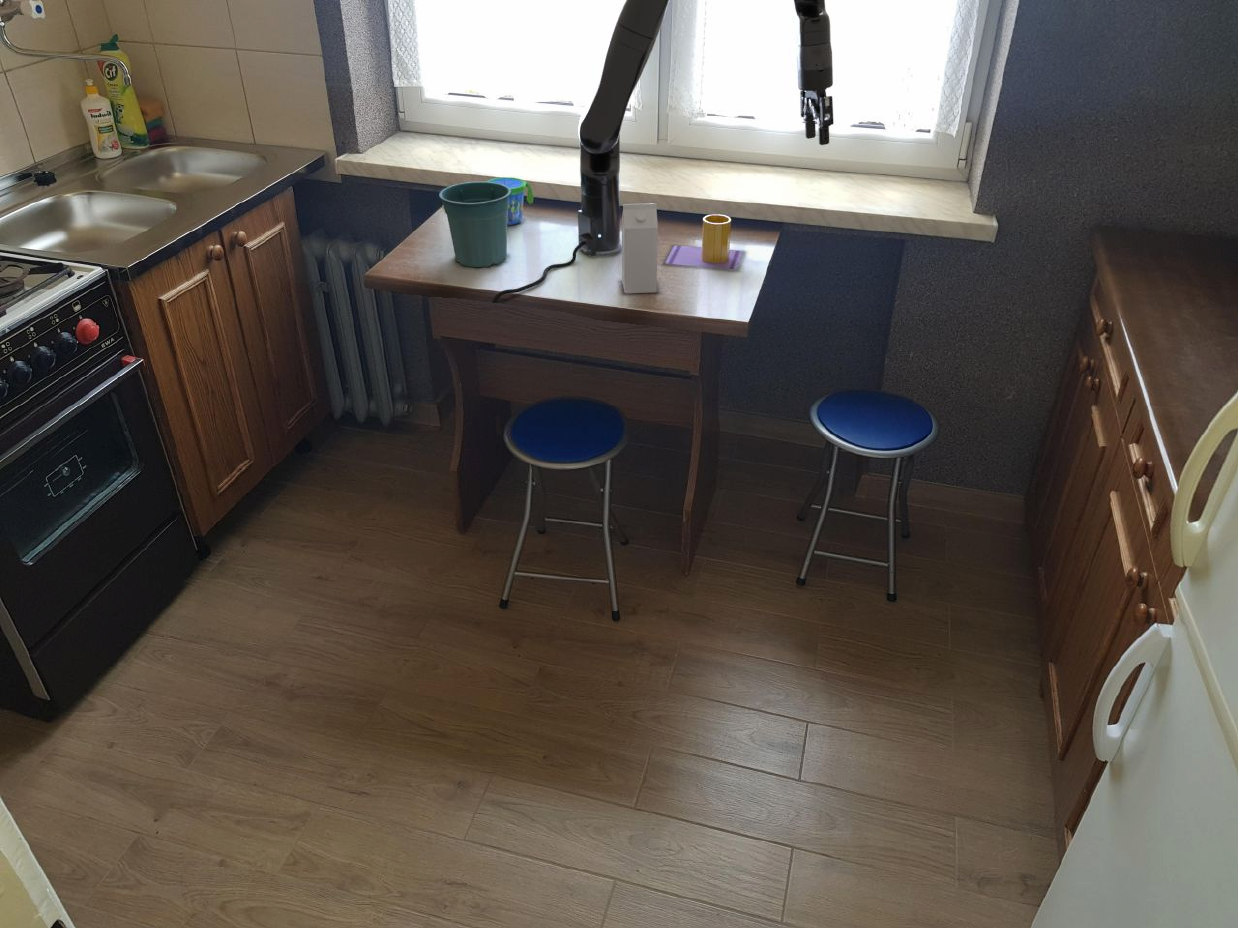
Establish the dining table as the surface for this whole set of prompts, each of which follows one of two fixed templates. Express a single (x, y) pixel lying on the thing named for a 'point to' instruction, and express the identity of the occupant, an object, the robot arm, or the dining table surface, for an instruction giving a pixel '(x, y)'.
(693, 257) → the cloth
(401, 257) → the dining table surface
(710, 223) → the tumbler
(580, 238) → the robot arm
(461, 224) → the flower pot
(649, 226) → the milk carton
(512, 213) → the snack cup
